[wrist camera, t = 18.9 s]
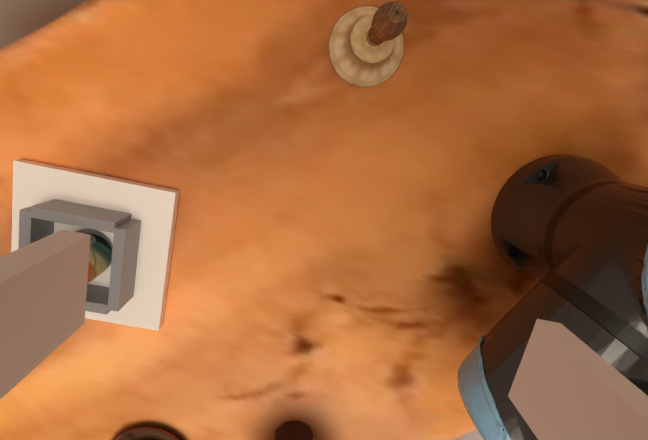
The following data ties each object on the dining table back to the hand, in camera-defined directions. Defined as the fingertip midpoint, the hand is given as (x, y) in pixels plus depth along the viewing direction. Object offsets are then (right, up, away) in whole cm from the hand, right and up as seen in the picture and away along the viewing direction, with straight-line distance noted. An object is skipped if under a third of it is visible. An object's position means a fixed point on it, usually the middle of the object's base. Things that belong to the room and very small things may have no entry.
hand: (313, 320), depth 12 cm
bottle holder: (-28, 0, +37) cm, 46 cm away
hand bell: (+5, +22, +33) cm, 40 cm away
